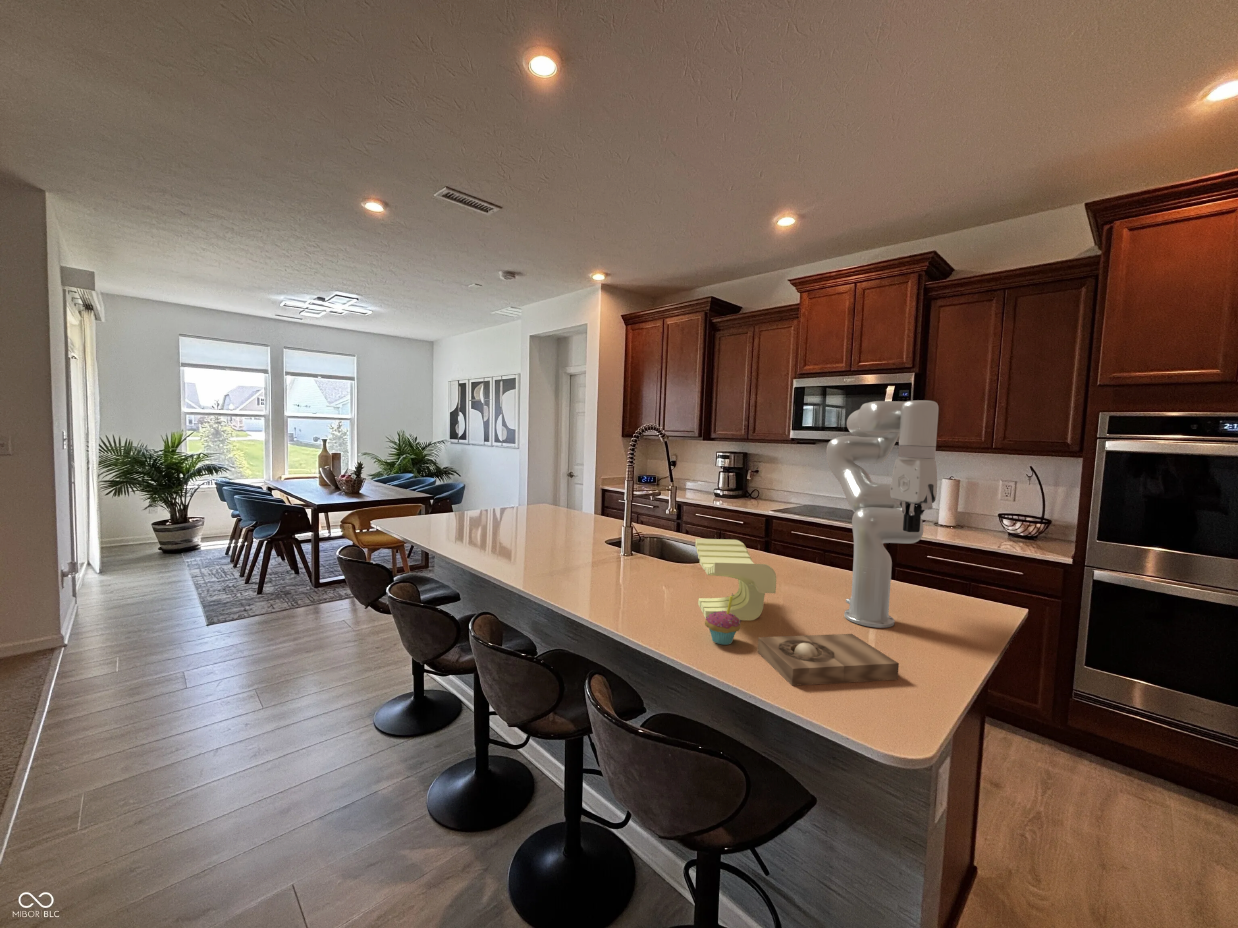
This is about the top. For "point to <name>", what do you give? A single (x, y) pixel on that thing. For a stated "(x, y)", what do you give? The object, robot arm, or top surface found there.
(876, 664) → the board
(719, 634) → the cupcake
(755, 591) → the slatted curved stool
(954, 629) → the top surface
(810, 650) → the ball
